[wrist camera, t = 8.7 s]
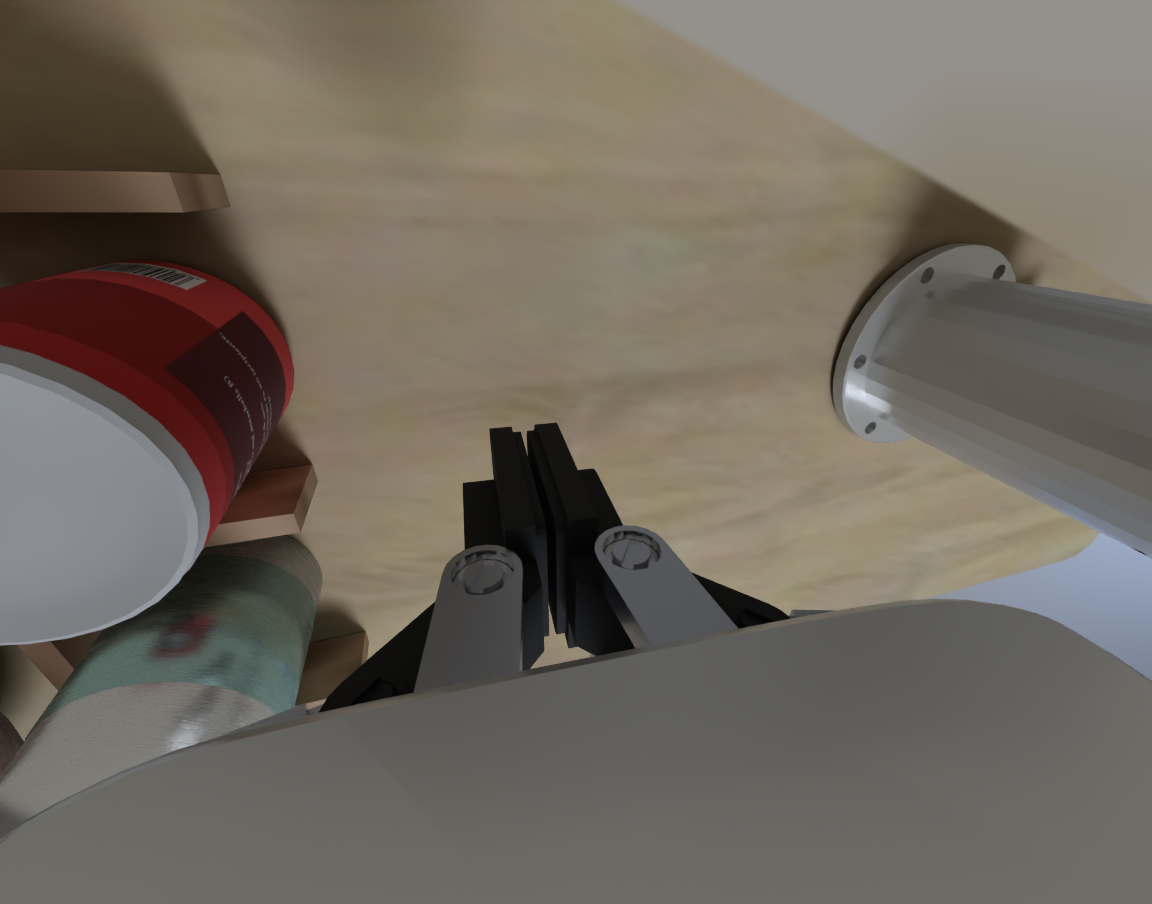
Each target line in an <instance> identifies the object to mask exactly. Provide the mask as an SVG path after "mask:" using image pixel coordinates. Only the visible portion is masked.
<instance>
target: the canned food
mask: <svg viewBox="0 0 1152 904" xmlns="http://www.w3.org/2000/svg"><path fill="white" fill-rule="evenodd" d="M293 385H294V368H293V363H292V358H291V353H290V351H289V348H288V346H287V343H286V341H285V339H284V336H283V334H282V332H281V331H280V329H279V328H278V326H277V325H276V324H275V322H274V321H273V319H272V318H271V316H270V315H269V314H268V313H267V312H266V311H265V310H264V309H263V308H262V307H261V306H260V305H259V304H258V303H257V302H256V301H254V300H253V299H252V298H250V297H249V296H248V295H246V294H245V293H244V292H242V291H241V290H240V289H238V288H236V287H234V286H232V285H231V284H229V283H227V282H225V281H223V280H221V279H219V278H218V277H215V276H212V275H209V274H206V273H204V272H201V271H198V270H195V269H193V268H190V267H187V266H183V265H178V264H173V263H168V262H163V261H153V260H125V261H117V262H110V263H104V264H100V265H96V266H92V267H88V268H83V269H79V270H75V271H71V272H67V273H63V274H59V275H54V276H50V277H46V278H42V279H38V280H34V281H30V282H26V283H21V284H17V285H13V286H9V287H5V288H1V289H0V645H20V644H33V643H40V642H47V641H54V640H61V639H68V638H72V637H75V636H79V635H83V634H87V633H91V632H94V631H98V630H102V629H105V628H107V627H110V626H112V625H115V624H117V623H119V622H122V621H124V620H127V619H129V618H132V617H134V616H136V615H137V614H139V613H140V612H142V611H144V610H145V609H147V608H148V607H150V606H152V605H153V604H155V603H157V602H158V601H160V600H161V599H162V598H163V597H164V596H165V595H166V594H167V593H168V592H169V591H170V590H171V589H172V588H173V587H174V586H176V585H177V584H178V583H179V581H180V580H181V578H182V576H183V575H184V574H185V573H186V572H187V571H188V570H189V569H190V568H191V567H192V565H193V564H194V562H195V560H196V559H197V557H198V556H199V554H200V553H201V551H202V549H203V548H204V546H205V545H206V543H207V542H208V540H209V538H210V537H211V535H212V534H213V532H214V531H215V529H216V527H217V526H218V524H219V523H220V521H221V519H222V518H223V516H224V514H225V512H226V511H227V509H228V507H229V505H230V504H231V502H232V500H233V499H234V497H235V495H236V493H237V492H238V490H239V488H240V486H241V485H242V483H243V481H244V480H245V478H246V476H247V474H248V473H249V471H250V469H251V468H252V466H253V464H254V462H255V461H256V459H257V457H258V455H259V454H260V452H261V450H262V449H263V447H264V445H265V443H266V442H267V440H268V438H269V436H270V435H271V433H272V431H273V430H274V428H275V426H276V424H277V423H278V421H279V419H280V417H281V416H282V414H283V412H284V411H285V409H286V407H287V405H288V404H289V400H290V397H291V394H292V391H293Z"/></svg>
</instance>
